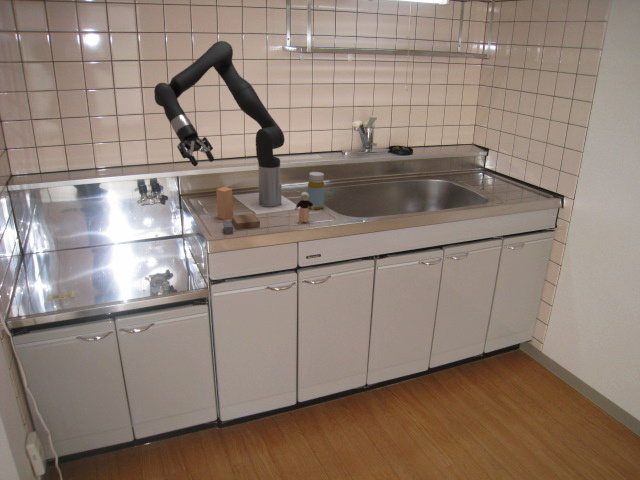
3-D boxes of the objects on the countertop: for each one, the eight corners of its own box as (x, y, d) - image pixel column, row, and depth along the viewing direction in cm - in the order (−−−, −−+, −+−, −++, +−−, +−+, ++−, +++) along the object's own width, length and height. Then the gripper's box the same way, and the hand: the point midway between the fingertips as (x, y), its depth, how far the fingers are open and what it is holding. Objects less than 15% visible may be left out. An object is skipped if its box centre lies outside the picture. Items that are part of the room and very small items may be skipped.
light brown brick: (225, 214, 213) (224, 186, 209) (233, 217, 211) (232, 189, 206) (217, 217, 210) (216, 189, 205) (224, 220, 207) (223, 191, 203)
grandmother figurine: (297, 224, 205) (297, 194, 200) (293, 221, 209) (294, 191, 204) (315, 222, 208) (316, 192, 203) (311, 219, 211) (312, 189, 207)
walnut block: (254, 220, 209) (254, 213, 208) (259, 228, 202) (259, 221, 200) (232, 222, 206) (231, 215, 205) (237, 230, 199) (236, 223, 197)
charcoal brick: (231, 228, 200) (231, 221, 199) (233, 234, 195) (232, 226, 193) (223, 229, 199) (223, 221, 198) (224, 234, 194) (224, 227, 193)
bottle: (326, 206, 228) (327, 173, 222) (319, 210, 222) (320, 176, 216) (311, 203, 230) (312, 170, 224) (304, 208, 224) (305, 174, 219)
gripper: (193, 131, 217) (213, 164, 216) (165, 137, 206) (186, 171, 205) (201, 121, 212) (222, 154, 211) (173, 126, 201) (195, 161, 200)
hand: (204, 163), depth 208 cm, fingers open, 8 cm apart
